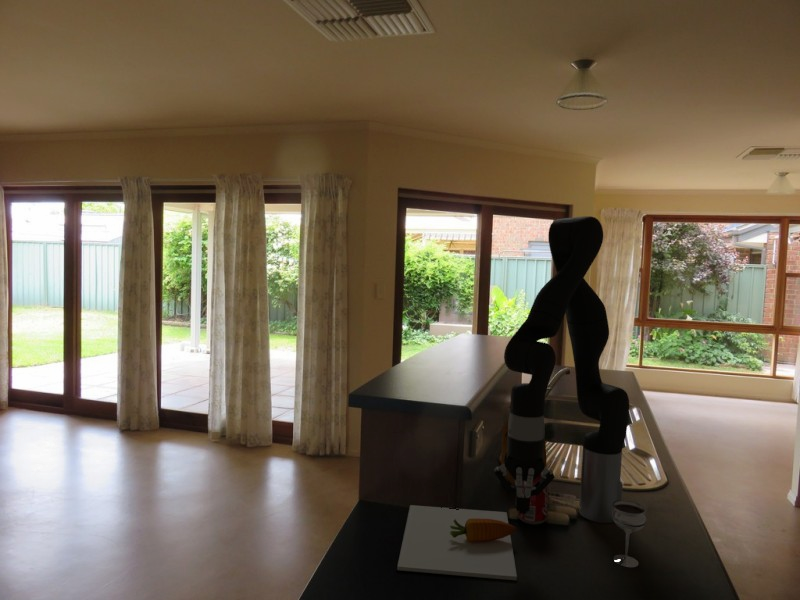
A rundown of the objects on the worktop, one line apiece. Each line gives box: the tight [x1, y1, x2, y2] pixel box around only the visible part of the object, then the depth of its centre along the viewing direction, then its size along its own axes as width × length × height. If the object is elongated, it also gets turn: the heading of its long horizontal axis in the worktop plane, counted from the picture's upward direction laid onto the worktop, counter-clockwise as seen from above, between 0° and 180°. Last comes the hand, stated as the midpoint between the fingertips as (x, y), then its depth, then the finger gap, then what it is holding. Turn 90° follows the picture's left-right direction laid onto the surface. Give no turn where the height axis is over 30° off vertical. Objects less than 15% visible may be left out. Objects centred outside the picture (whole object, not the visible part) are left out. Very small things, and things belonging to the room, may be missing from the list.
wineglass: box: [612, 499, 647, 568], centre depth 122 cm, size 7×7×12 cm
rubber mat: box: [396, 504, 518, 581], centre depth 129 cm, size 24×28×1 cm
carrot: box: [450, 519, 517, 542], centre depth 127 cm, size 5×5×15 cm
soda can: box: [516, 471, 549, 526], centre depth 139 cm, size 7×7×13 cm
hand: (522, 512), depth 122 cm, fingers closed
